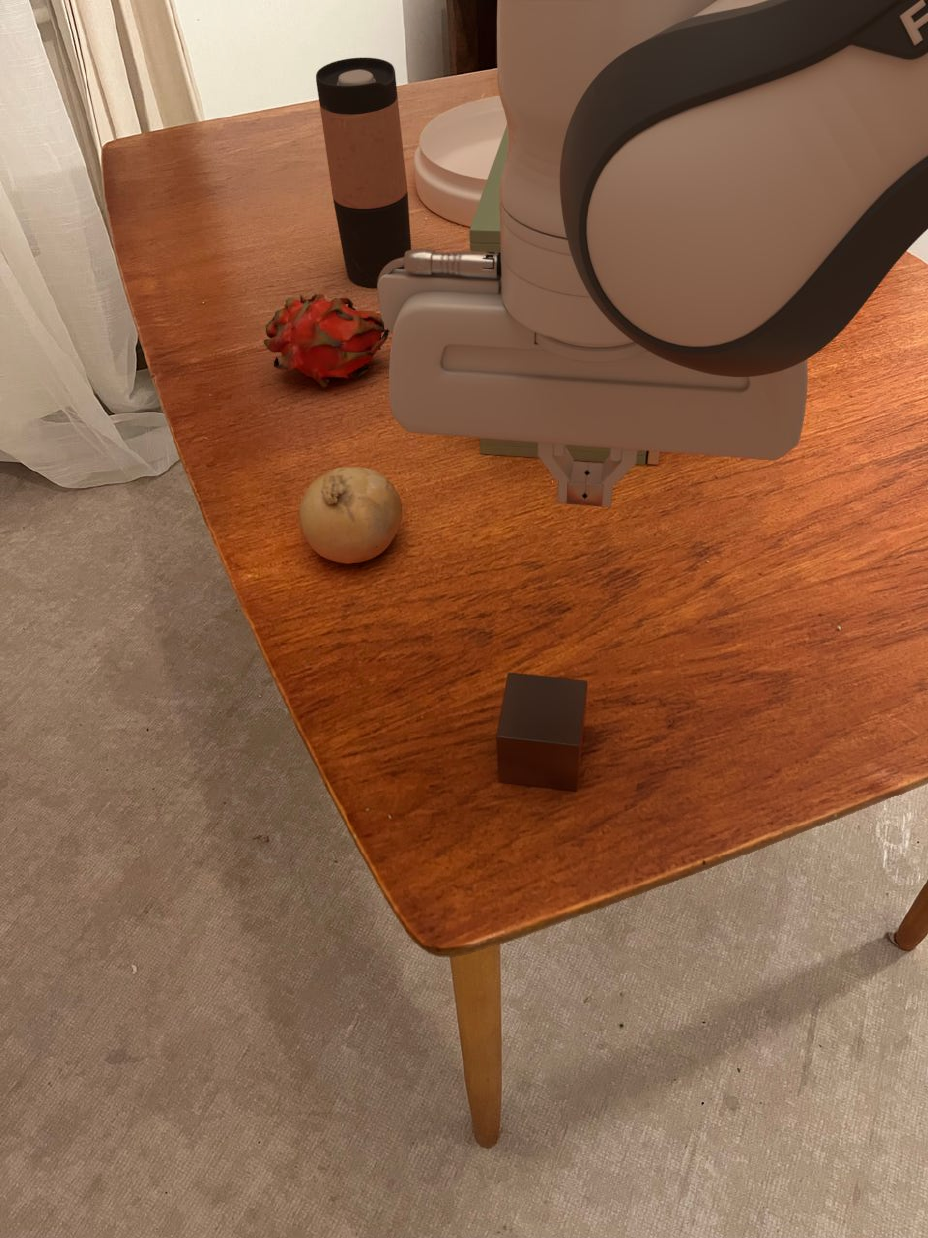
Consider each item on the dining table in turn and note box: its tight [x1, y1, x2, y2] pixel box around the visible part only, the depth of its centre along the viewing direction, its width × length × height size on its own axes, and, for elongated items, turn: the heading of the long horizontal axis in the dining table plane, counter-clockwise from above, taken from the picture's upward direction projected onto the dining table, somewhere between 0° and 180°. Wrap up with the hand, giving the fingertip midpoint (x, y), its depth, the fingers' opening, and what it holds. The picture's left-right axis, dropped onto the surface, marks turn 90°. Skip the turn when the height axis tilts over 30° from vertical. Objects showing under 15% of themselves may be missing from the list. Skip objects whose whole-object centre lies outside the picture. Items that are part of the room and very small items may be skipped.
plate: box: [413, 95, 507, 228], centre depth 117 cm, size 27×27×6 cm
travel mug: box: [315, 57, 412, 289], centre depth 99 cm, size 8×8×20 cm
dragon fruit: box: [262, 293, 391, 388], centre depth 91 cm, size 8×8×12 cm
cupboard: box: [468, 126, 647, 466], centre depth 84 cm, size 14×24×20 cm, turn 170°
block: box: [495, 672, 589, 792], centre depth 61 cm, size 5×5×5 cm
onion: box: [298, 466, 403, 565], centre depth 75 cm, size 8×8×7 cm
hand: (585, 498), depth 53 cm, fingers closed
